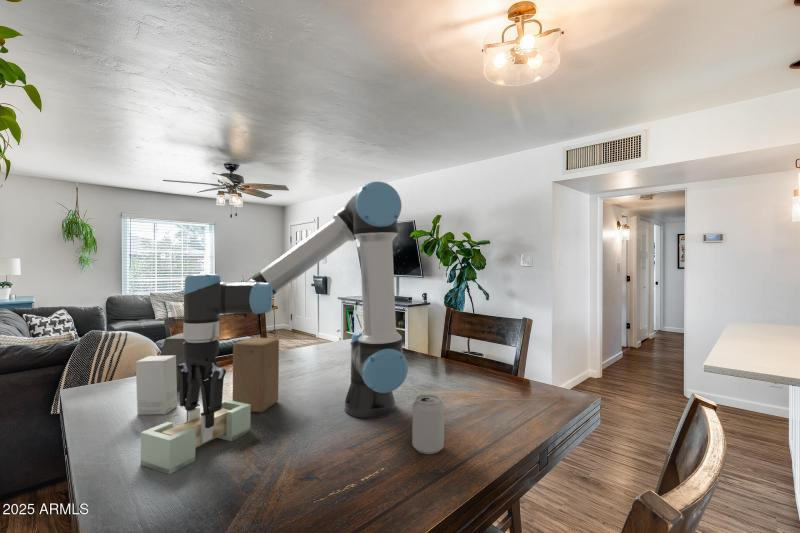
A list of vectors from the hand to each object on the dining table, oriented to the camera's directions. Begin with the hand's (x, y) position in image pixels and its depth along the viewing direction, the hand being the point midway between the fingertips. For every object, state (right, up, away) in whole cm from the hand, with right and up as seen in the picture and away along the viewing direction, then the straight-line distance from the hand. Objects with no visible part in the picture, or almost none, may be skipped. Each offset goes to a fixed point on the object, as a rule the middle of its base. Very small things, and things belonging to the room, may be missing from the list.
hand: (200, 438), depth 90 cm
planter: (-29, -1, +44) cm, 53 cm away
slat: (0, -1, 0) cm, 1 cm away
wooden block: (+4, -2, +26) cm, 26 cm away
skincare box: (-23, -2, +21) cm, 32 cm away
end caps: (0, -2, 0) cm, 2 cm away
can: (+54, -3, +1) cm, 54 cm away
